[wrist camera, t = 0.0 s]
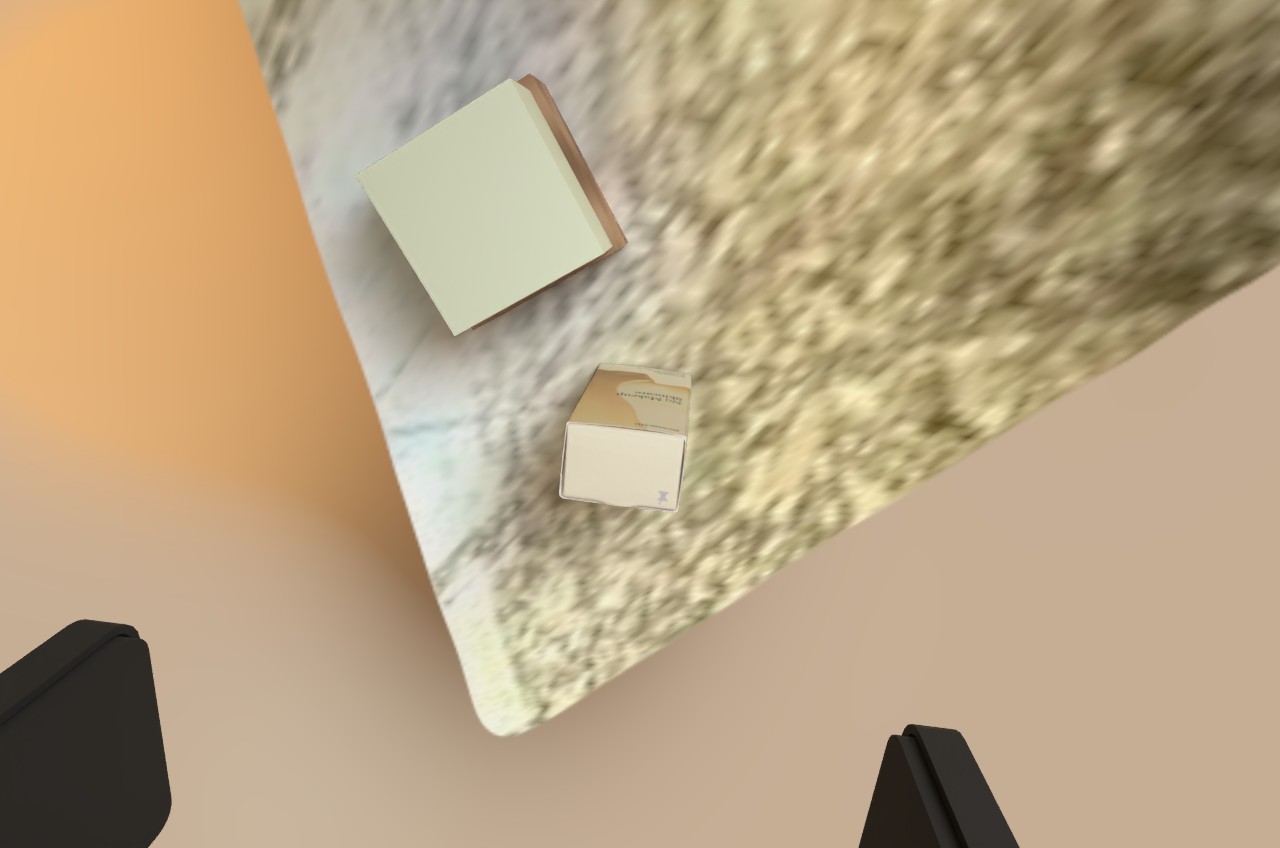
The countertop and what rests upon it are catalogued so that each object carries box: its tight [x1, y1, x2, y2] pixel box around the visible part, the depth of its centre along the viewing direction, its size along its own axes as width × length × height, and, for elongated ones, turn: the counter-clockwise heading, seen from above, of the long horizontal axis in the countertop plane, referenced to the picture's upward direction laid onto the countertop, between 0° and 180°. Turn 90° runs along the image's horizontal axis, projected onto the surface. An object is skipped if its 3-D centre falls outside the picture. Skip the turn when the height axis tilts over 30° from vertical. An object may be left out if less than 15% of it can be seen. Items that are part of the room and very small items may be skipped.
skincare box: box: [559, 363, 692, 513], centre depth 40 cm, size 6×4×12 cm
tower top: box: [355, 78, 612, 336], centre depth 37 cm, size 9×9×4 cm
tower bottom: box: [471, 74, 627, 330], centre depth 41 cm, size 10×10×4 cm
